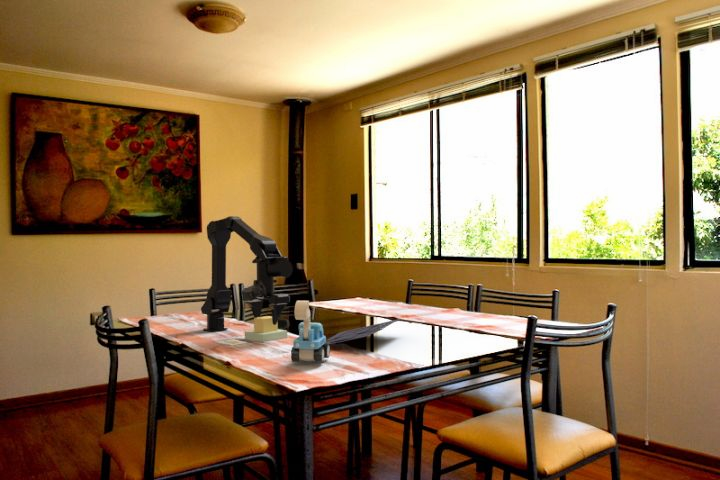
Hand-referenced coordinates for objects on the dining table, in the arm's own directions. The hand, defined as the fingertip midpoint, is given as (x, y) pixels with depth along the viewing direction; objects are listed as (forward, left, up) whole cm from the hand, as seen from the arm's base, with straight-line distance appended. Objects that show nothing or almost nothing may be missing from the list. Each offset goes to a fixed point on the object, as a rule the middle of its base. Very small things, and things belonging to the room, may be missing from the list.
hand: (265, 323), depth 182 cm
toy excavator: (+38, -16, -5) cm, 42 cm away
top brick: (0, 0, -3) cm, 3 cm away
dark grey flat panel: (+26, +16, -6) cm, 32 cm away
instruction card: (-2, -12, -5) cm, 13 cm away
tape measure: (-6, +14, -5) cm, 16 cm away
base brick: (0, 0, -6) cm, 6 cm away
